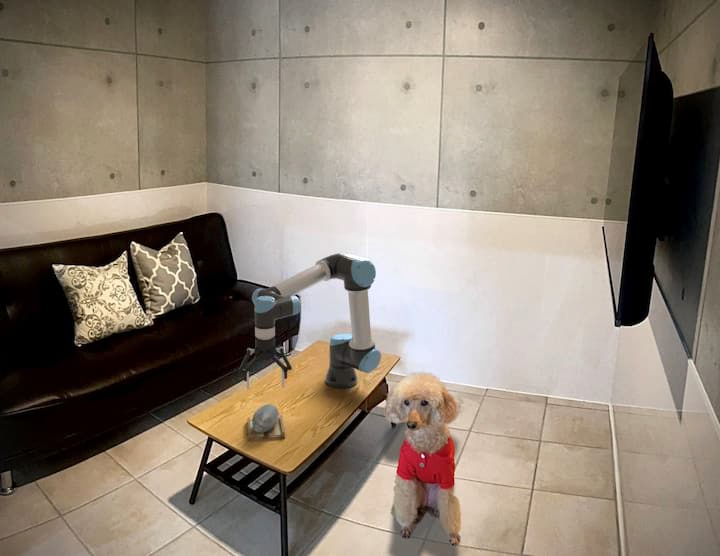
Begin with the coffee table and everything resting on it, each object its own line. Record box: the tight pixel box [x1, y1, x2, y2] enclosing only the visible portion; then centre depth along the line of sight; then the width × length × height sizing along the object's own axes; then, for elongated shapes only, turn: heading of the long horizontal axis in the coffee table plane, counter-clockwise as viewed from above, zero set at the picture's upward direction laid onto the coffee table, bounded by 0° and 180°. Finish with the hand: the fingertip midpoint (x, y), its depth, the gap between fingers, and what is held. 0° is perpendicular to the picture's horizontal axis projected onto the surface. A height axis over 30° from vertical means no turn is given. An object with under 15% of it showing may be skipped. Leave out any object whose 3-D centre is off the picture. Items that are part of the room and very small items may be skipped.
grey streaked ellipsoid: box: [251, 403, 279, 433], centre depth 243 cm, size 14×10×10 cm
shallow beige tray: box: [246, 414, 286, 442], centre depth 244 cm, size 14×15×2 cm
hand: (265, 387), depth 240 cm, fingers open, 13 cm apart
